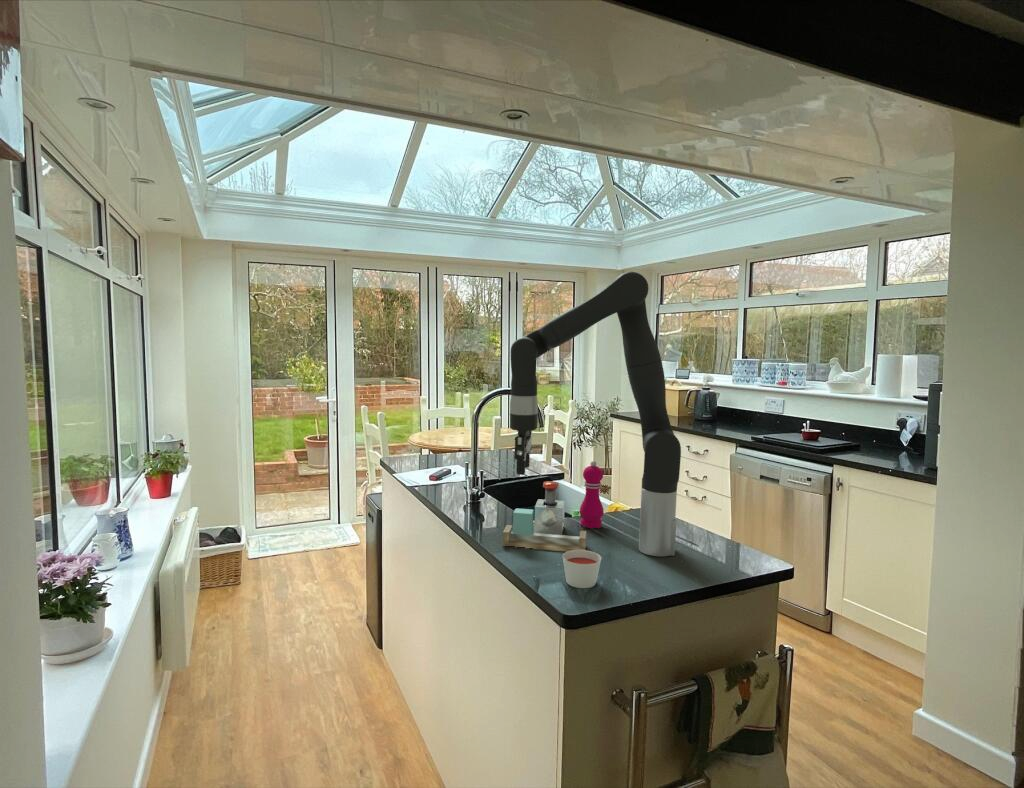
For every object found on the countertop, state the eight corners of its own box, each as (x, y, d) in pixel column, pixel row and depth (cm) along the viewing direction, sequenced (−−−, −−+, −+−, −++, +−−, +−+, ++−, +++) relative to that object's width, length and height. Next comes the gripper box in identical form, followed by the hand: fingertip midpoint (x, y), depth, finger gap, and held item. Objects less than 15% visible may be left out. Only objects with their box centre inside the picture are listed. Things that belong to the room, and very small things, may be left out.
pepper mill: (602, 530, 178) (605, 464, 176) (577, 528, 180) (580, 462, 178) (603, 523, 186) (606, 459, 183) (580, 521, 187) (582, 457, 185)
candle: (608, 583, 142) (609, 557, 141) (583, 594, 135) (584, 567, 135) (578, 571, 148) (579, 546, 147) (553, 582, 142) (554, 556, 141)
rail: (585, 545, 166) (586, 531, 166) (584, 553, 160) (585, 538, 160) (506, 538, 170) (506, 524, 169) (502, 546, 164) (502, 532, 163)
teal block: (533, 530, 167) (533, 509, 166) (531, 535, 163) (531, 513, 163) (515, 529, 168) (515, 508, 167) (512, 534, 164) (513, 512, 163)
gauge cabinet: (563, 526, 181) (564, 500, 180) (561, 536, 173) (562, 509, 172) (537, 524, 182) (538, 499, 181) (533, 534, 174) (534, 507, 173)
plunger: (557, 512, 179) (558, 481, 178) (556, 516, 175) (557, 485, 174) (543, 510, 180) (544, 480, 179) (541, 515, 175) (542, 484, 174)
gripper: (534, 415, 155) (533, 477, 157) (540, 408, 169) (539, 465, 171) (505, 415, 156) (504, 476, 158) (514, 407, 170) (513, 464, 172)
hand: (523, 470), depth 164 cm, fingers open, 8 cm apart
